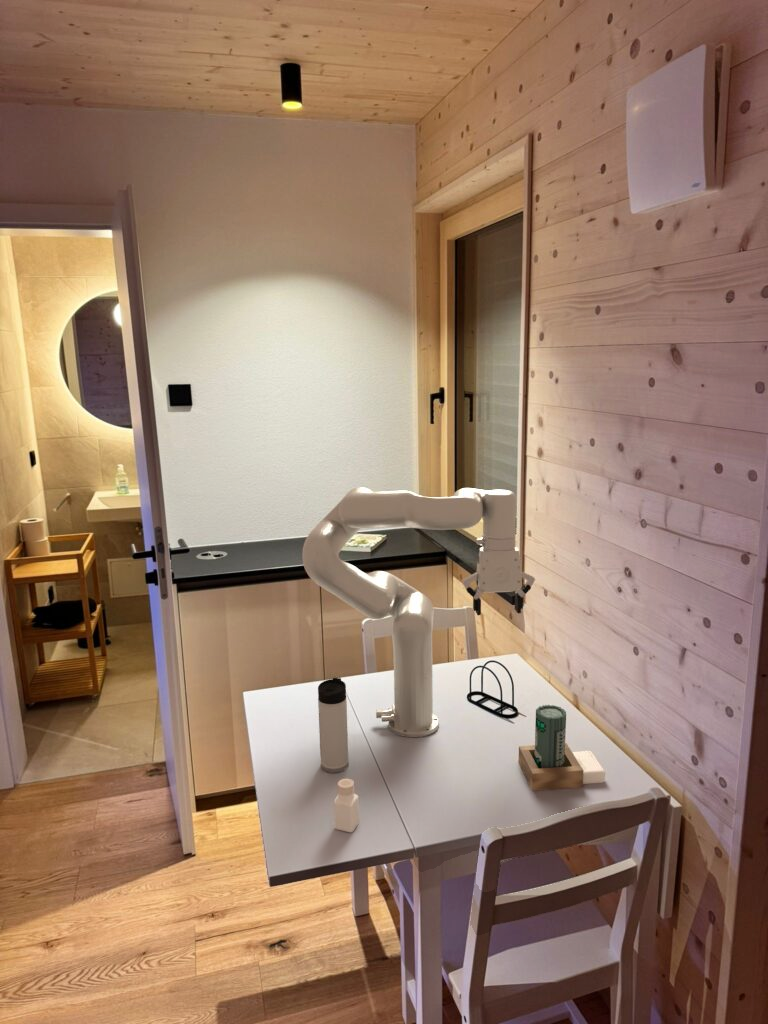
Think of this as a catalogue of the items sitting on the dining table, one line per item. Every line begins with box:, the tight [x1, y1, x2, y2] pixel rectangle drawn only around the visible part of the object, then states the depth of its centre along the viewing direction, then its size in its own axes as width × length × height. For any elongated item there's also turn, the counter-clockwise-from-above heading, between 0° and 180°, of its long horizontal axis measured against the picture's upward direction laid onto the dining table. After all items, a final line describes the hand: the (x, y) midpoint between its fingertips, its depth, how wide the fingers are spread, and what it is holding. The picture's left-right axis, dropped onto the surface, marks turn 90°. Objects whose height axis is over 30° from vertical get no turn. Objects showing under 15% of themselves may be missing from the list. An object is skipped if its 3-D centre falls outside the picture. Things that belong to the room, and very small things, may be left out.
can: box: [534, 704, 567, 769], centre depth 158 cm, size 6×6×15 cm
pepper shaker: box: [333, 778, 360, 833], centre depth 143 cm, size 4×4×10 cm
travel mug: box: [317, 677, 349, 774], centre depth 163 cm, size 6×7×20 cm
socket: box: [518, 742, 584, 792], centre depth 160 cm, size 11×11×4 cm
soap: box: [572, 750, 606, 785], centre depth 161 cm, size 9×6×3 cm, turn 5°
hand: (497, 612), depth 173 cm, fingers open, 9 cm apart
